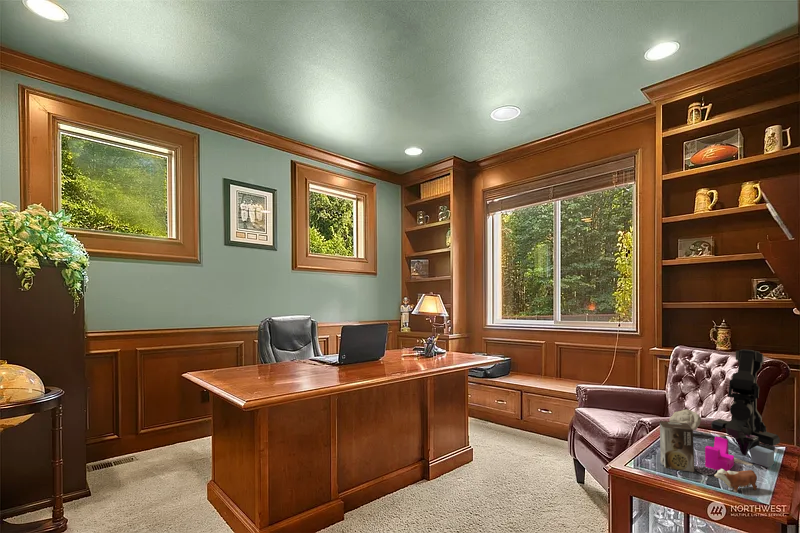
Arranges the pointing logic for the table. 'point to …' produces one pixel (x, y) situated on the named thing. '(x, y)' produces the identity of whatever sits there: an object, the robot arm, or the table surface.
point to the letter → (741, 462)
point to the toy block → (719, 455)
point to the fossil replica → (686, 418)
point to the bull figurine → (737, 478)
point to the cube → (762, 456)
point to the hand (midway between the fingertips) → (744, 455)
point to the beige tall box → (676, 446)
